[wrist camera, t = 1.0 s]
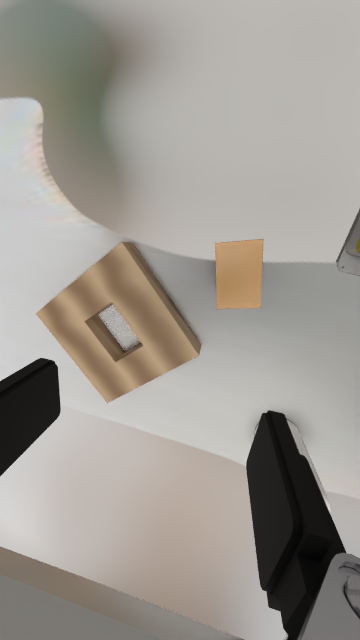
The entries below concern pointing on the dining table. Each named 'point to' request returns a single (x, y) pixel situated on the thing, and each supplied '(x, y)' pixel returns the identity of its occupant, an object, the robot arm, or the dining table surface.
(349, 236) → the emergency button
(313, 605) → the robot arm
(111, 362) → the socket block
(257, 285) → the key peg
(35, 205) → the dining table surface
